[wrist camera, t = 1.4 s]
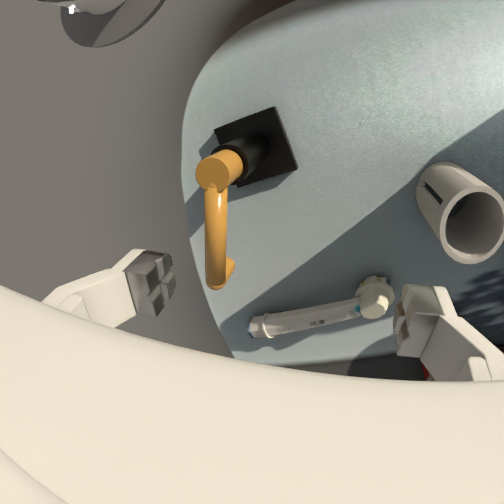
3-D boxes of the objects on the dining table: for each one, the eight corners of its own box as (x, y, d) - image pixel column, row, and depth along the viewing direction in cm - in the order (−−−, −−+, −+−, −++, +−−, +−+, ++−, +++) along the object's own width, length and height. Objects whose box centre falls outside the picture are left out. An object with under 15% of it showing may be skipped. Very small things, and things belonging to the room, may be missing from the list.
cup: (469, 221, 37) (502, 261, 27) (415, 224, 40) (436, 266, 29) (471, 161, 33) (511, 185, 23) (414, 161, 36) (441, 186, 26)
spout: (213, 147, 30) (194, 155, 26) (245, 150, 30) (230, 158, 26) (212, 270, 38) (198, 290, 34) (239, 275, 37) (227, 297, 33)
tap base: (216, 128, 41) (176, 141, 31) (275, 106, 38) (251, 108, 27) (239, 185, 44) (208, 215, 34) (298, 167, 41) (283, 192, 31)
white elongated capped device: (241, 325, 52) (388, 297, 38) (255, 301, 57) (389, 269, 43) (256, 346, 53) (397, 324, 40) (268, 321, 58) (397, 296, 45)
